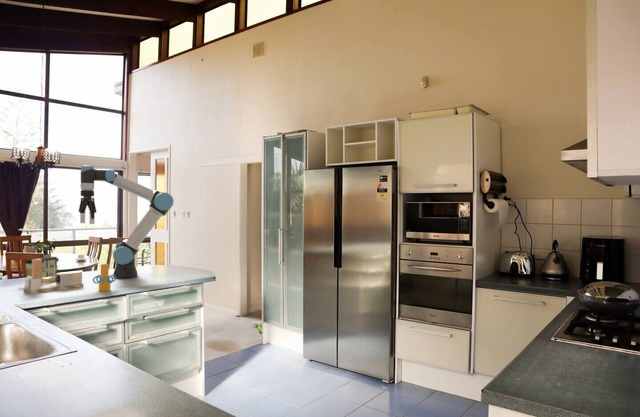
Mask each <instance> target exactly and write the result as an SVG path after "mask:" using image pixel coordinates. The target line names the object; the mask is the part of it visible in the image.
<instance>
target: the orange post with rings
mask: <svg viewBox="0 0 640 417" xmlns="http://www.w3.org/2000/svg"><path fill="white" fill-rule="evenodd" d="M109 270H110V268H109V263H102V264H101V263H100V274H98V275H95V276H94V277H93V278H92V282H93V283H94V284H98V291H99V292H109V291H111V284H112V283H113V282H115V281H116V280H117V278H116V276H115V275H113V274H110V275H109V273H110V272H109ZM113 276H114V277H115V278H113Z"/></svg>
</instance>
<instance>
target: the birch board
mask: <svg viewBox="0 0 640 417" xmlns="http://www.w3.org/2000/svg"><path fill="white" fill-rule="evenodd" d="M83 287H84V283H82V284H77V285H70V286H62V287H60V286H57V285H56V284H52V285H44V286H41V289H38V290H30V291H29V290H26V289H25V288H23V292H24V293H26V294H29V295H31V294H38V293H47V292H52V291H53V292H54V291H62V290H69V289H76V288H77V289H78V288H83Z"/></svg>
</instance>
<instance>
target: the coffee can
mask: <svg viewBox="0 0 640 417" xmlns="http://www.w3.org/2000/svg"><path fill="white" fill-rule="evenodd" d="M37 259H43V261H44V263H43V271H42V278H48V277H56V273H58V257H57V256H42V257H38V258H37Z"/></svg>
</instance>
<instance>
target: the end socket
mask: <svg viewBox="0 0 640 417" xmlns="http://www.w3.org/2000/svg"><path fill="white" fill-rule="evenodd" d="M24 282H25V283H24V289H26V290H29V291H30V290H38V289H41V287H42V284H41V278H37V279H33V277H30V276H27V275H26V278H24Z"/></svg>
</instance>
